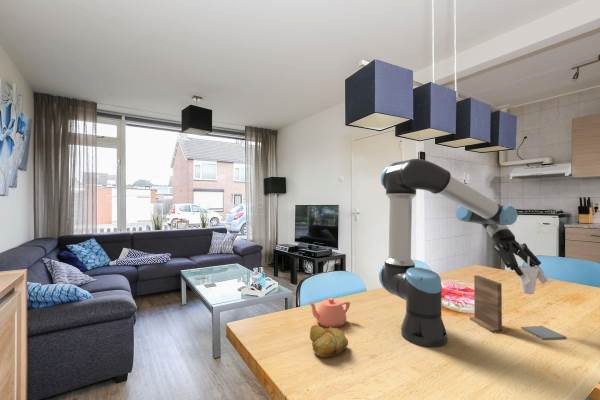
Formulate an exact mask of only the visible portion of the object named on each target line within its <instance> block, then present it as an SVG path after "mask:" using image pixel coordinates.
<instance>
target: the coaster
mask: <svg viewBox="0 0 600 400" xmlns="http://www.w3.org/2000/svg"><path fill="white" fill-rule="evenodd" d="M521 328H522V329H521ZM520 329H521V330H523V329H524V330H523V331H525V330H526V331H525V332H527V331H528V332H527V333H529V332H530V333H529V334H531V333H532V334H531V335H533V334H534V335H533V336H535V335H536V336H535V337H537V336H538V337H537V338H539V337H540V339H541V338H542V339H541V340H543V339H548V340H560V339H561V340H563V339H567V336H566V335H563V334H561V333H559V332H557V331H555V330H552V329H550V328H548V327H546V326H543V325H531V326H521V327H520Z"/></svg>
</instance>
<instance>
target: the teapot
mask: <svg viewBox="0 0 600 400" xmlns="http://www.w3.org/2000/svg"><path fill="white" fill-rule="evenodd" d="M307 303H308V304H309V305H310V306H311V312H312V315H313V317H314V318H315V319H316V321H317V322H318V324H319V323H320V324H319V325H321V326H322V325H323V327H324V326H325V328H329V327H331V328H332V327H335V328H340V327H343V326H344V325H345V324H346V322H347V312H348V310H349V309H350V306H351V302H350V301H348V300H346V301H342V302H340V300H337V299H335V298H332V297H329V298H327V299H323V300H322V301H321V302H320V304H319V305H318V307H317V309H316V306H315V303H314V302H309V301H308V302H307ZM343 305H345V308H344V306H343Z"/></svg>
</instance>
